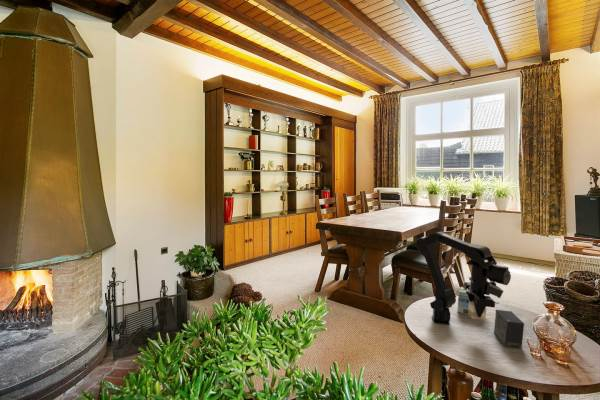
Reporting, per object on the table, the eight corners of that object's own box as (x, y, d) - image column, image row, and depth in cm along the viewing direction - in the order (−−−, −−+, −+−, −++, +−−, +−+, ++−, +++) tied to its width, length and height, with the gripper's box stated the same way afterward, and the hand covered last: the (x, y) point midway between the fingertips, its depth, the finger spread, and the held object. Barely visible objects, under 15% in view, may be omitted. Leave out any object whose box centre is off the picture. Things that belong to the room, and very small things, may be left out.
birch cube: (472, 318, 122) (472, 306, 121) (468, 312, 127) (468, 301, 126) (485, 319, 121) (486, 308, 120) (481, 314, 126) (481, 302, 125)
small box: (523, 349, 116) (525, 323, 115) (504, 347, 117) (506, 321, 116) (510, 334, 126) (512, 310, 125) (493, 332, 128) (494, 309, 127)
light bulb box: (457, 312, 146) (458, 290, 145) (458, 307, 152) (460, 286, 151) (482, 318, 140) (484, 296, 139) (483, 312, 146) (485, 291, 144)
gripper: (512, 287, 111) (509, 327, 113) (492, 271, 129) (489, 306, 131) (478, 285, 114) (476, 324, 115) (463, 269, 132) (461, 303, 133)
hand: (476, 313), depth 124 cm, fingers closed on birch cube, 5 cm apart
